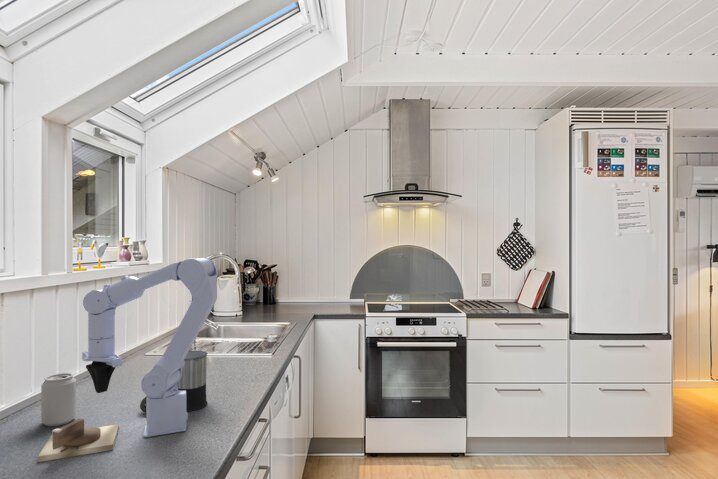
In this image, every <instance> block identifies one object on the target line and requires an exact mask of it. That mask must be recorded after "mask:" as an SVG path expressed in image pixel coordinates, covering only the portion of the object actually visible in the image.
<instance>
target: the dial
mask: <svg viewBox="0 0 718 479" xmlns="http://www.w3.org/2000/svg"><path fill="white" fill-rule="evenodd" d="M98 427H99V426H97V427H96V426H85V419H84V418H77V419H76V420H74V421H73V420H72V421H71V422H69V423H66V424H64V425H63V426H62V427H59V428H58V427H57V428H55V429H52V431H51V432H52V434H53V448H59V447H61V446H67V447H75V446H81V445H85V444H88V443H91V442H93V441H95V440H97V439H98V438H100V436H101V430H100V428H98Z"/></svg>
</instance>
